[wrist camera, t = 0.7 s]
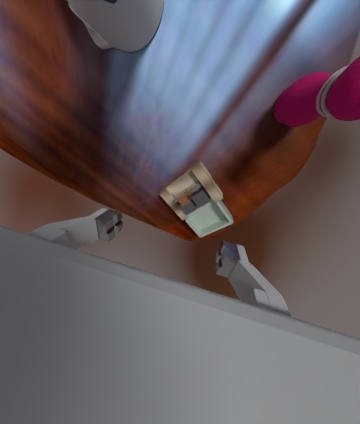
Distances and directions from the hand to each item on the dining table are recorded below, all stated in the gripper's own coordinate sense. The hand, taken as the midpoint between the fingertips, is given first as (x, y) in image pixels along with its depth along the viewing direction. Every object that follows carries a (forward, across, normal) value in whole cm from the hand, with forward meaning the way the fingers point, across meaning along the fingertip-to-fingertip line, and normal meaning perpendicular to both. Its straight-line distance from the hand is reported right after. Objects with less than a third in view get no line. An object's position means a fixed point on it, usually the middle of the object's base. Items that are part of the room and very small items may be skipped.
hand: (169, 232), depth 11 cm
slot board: (+31, +1, +8) cm, 32 cm away
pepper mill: (+30, -15, -16) cm, 37 cm away
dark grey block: (+30, -2, +8) cm, 31 cm away
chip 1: (+30, +1, +11) cm, 32 cm away
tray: (+32, -6, +14) cm, 35 cm away
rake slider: (+29, +2, +7) cm, 30 cm away
